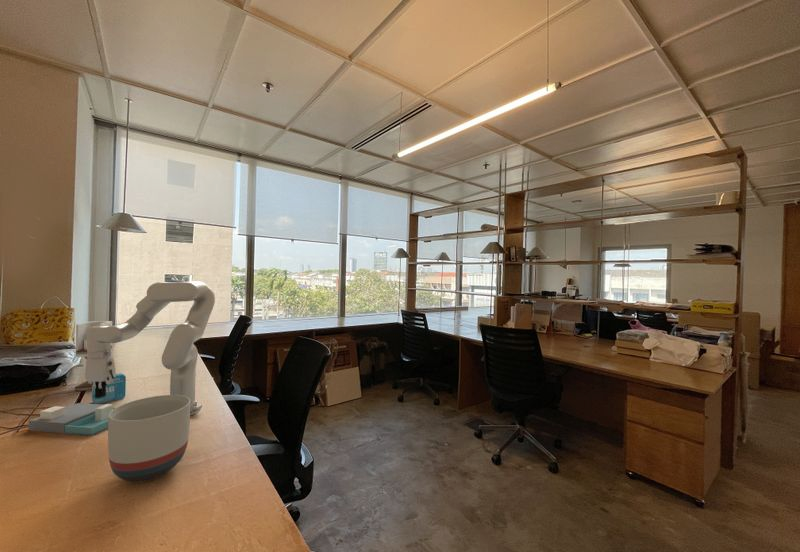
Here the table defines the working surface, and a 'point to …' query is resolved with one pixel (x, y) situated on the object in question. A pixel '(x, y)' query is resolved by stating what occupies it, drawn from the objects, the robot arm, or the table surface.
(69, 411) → the plate
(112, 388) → the data package
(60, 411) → the beige block
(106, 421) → the box
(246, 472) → the table surface
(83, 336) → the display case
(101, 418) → the beige block
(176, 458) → the planter
